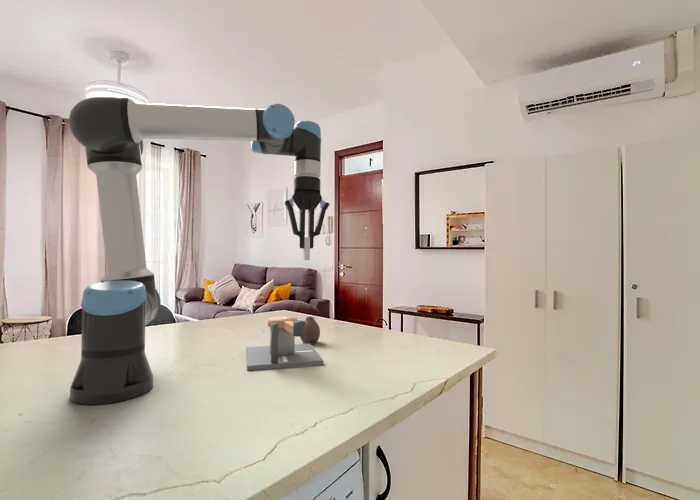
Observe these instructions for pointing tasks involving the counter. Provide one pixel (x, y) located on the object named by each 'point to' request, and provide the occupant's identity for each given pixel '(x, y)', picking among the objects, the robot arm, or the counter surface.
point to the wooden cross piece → (289, 324)
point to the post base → (293, 361)
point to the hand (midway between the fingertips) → (306, 260)
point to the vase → (311, 331)
